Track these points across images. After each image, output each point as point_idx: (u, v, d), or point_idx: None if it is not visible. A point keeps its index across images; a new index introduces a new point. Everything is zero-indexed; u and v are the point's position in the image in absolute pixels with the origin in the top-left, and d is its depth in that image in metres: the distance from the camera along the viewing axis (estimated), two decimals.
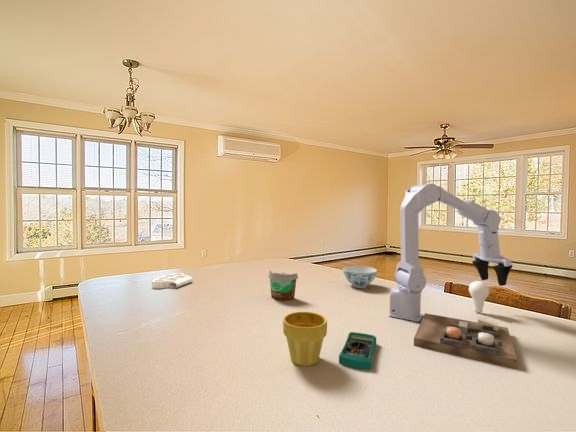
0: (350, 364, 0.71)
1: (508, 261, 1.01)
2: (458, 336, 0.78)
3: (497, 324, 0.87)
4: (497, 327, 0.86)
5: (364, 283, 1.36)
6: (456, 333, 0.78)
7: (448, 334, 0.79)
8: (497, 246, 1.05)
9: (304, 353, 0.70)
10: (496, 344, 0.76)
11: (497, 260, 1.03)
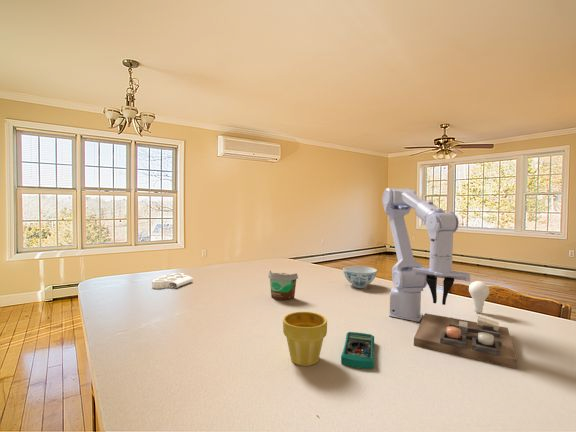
0: (353, 364, 0.70)
1: None
2: (458, 336, 0.78)
3: (497, 324, 0.87)
4: (497, 327, 0.86)
5: (364, 283, 1.36)
6: (456, 333, 0.78)
7: (448, 334, 0.79)
8: None
9: (304, 353, 0.70)
10: (496, 344, 0.76)
11: None
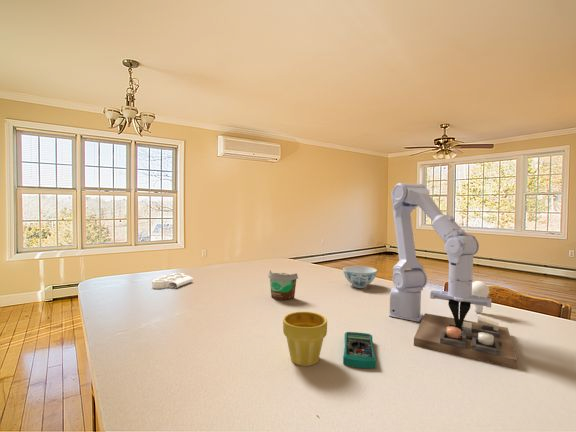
0: (355, 365, 0.70)
1: (430, 292, 0.89)
2: (458, 336, 0.78)
3: (497, 324, 0.87)
4: (497, 327, 0.86)
5: (364, 283, 1.36)
6: (456, 333, 0.78)
7: (448, 334, 0.79)
8: (448, 280, 0.86)
9: (304, 353, 0.70)
10: (496, 344, 0.76)
11: None
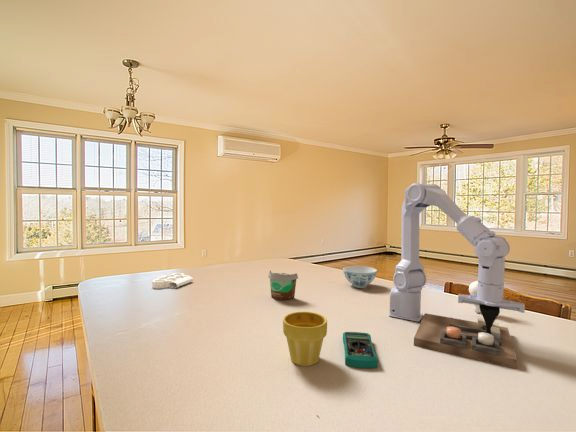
0: (358, 365, 0.70)
1: (458, 296, 0.85)
2: (458, 336, 0.78)
3: (497, 324, 0.87)
4: (497, 327, 0.86)
5: (364, 283, 1.36)
6: (456, 333, 0.78)
7: (448, 334, 0.79)
8: (478, 284, 0.82)
9: (304, 353, 0.70)
10: (496, 344, 0.76)
11: None
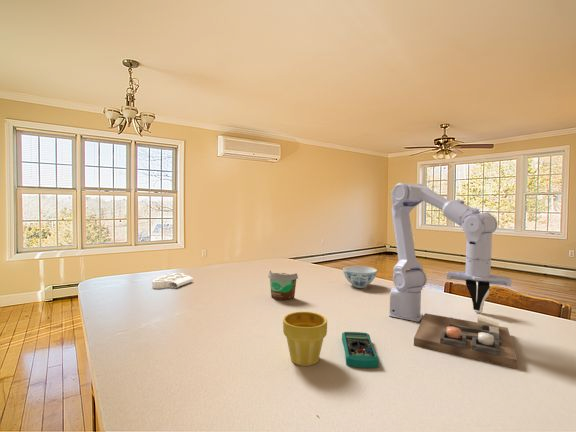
0: (359, 365, 0.70)
1: (447, 273, 0.86)
2: (458, 336, 0.78)
3: (497, 324, 0.87)
4: (497, 327, 0.86)
5: (364, 283, 1.36)
6: (456, 333, 0.78)
7: (448, 334, 0.79)
8: (466, 260, 0.83)
9: (304, 353, 0.70)
10: (496, 344, 0.76)
11: None
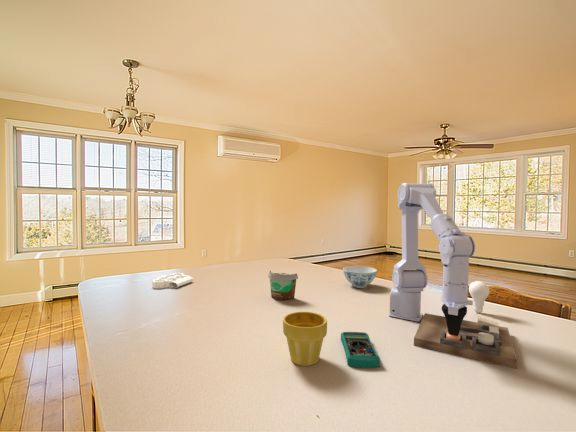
0: (360, 365, 0.70)
1: (452, 308, 0.73)
2: None
3: (497, 324, 0.87)
4: (497, 327, 0.86)
5: (364, 283, 1.36)
6: (456, 338, 0.78)
7: None
8: (457, 287, 0.77)
9: (304, 353, 0.70)
10: (496, 344, 0.76)
11: (446, 304, 0.77)
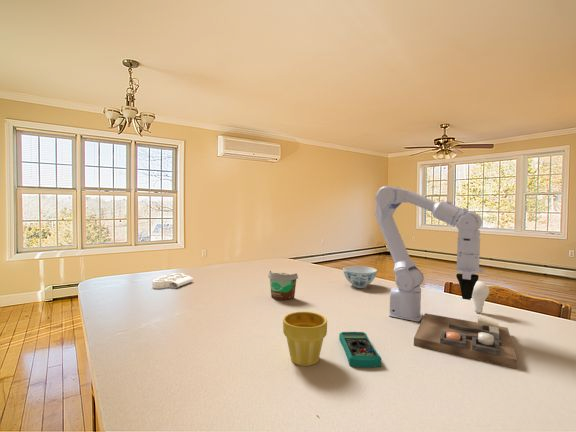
0: (362, 365, 0.70)
1: (466, 273, 0.86)
2: None
3: (497, 324, 0.87)
4: (497, 327, 0.86)
5: (364, 283, 1.36)
6: (456, 338, 0.78)
7: None
8: (470, 256, 0.89)
9: (304, 353, 0.70)
10: (496, 344, 0.76)
11: (460, 271, 0.89)
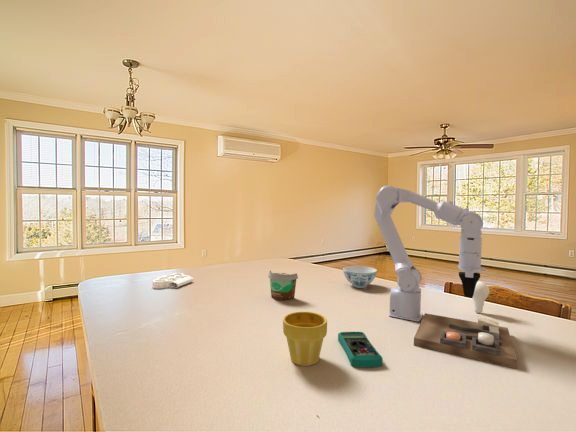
0: (364, 365, 0.70)
1: (469, 272, 0.88)
2: None
3: (497, 324, 0.87)
4: (497, 327, 0.86)
5: (364, 283, 1.36)
6: (456, 338, 0.78)
7: None
8: (472, 255, 0.91)
9: (304, 353, 0.70)
10: (496, 344, 0.76)
11: (463, 269, 0.91)
